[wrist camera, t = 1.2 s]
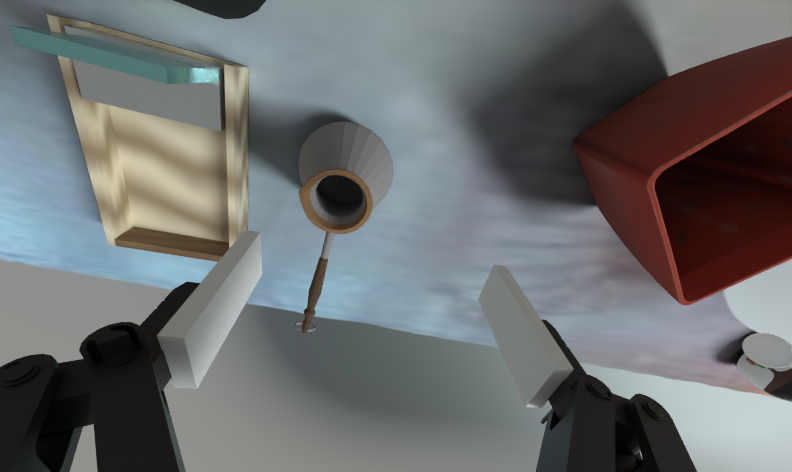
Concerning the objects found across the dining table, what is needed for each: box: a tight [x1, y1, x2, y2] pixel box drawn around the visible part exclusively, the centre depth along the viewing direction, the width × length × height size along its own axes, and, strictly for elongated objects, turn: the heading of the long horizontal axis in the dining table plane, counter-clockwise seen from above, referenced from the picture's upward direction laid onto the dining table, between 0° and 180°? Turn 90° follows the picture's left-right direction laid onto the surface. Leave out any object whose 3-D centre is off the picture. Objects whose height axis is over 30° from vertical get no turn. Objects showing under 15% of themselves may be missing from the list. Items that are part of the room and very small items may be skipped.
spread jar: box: [735, 333, 792, 402], centre depth 59 cm, size 12×11×12 cm
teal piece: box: [9, 25, 226, 132], centre depth 26 cm, size 6×13×9 cm, turn 75°
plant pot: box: [573, 37, 792, 305], centre depth 31 cm, size 19×19×17 cm
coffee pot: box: [295, 121, 393, 333], centre depth 32 cm, size 21×12×15 cm, turn 161°
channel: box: [46, 14, 249, 262], centre depth 33 cm, size 24×15×4 cm, turn 165°
